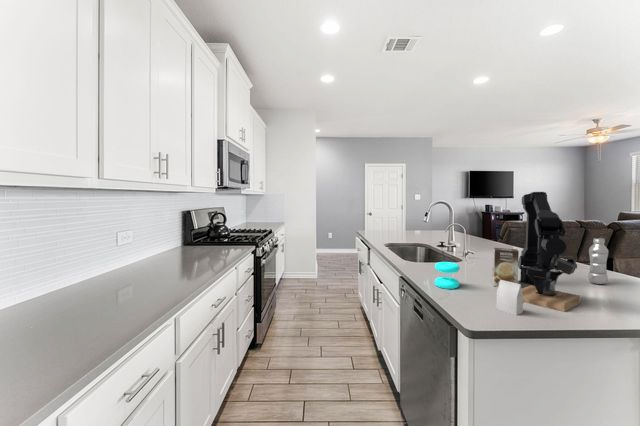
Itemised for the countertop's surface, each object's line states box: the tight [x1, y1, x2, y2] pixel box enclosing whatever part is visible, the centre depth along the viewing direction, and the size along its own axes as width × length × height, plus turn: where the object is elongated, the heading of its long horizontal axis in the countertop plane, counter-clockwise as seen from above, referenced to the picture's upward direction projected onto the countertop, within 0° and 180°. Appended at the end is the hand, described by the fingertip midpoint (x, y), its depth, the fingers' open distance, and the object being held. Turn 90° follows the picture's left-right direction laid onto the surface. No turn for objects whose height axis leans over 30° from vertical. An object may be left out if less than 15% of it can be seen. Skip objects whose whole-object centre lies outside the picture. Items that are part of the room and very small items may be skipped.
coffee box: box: [491, 247, 520, 288], centre depth 137 cm, size 9×6×16 cm
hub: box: [521, 285, 581, 313], centre depth 117 cm, size 16×14×3 cm
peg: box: [538, 278, 556, 297], centre depth 117 cm, size 4×4×9 cm
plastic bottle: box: [587, 237, 609, 285], centre depth 139 cm, size 6×7×20 cm
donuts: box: [434, 261, 461, 290], centre depth 137 cm, size 10×10×10 cm
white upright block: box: [496, 280, 524, 316], centre depth 107 cm, size 4×7×10 cm, turn 29°
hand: (546, 292), depth 117 cm, fingers open, 9 cm apart
